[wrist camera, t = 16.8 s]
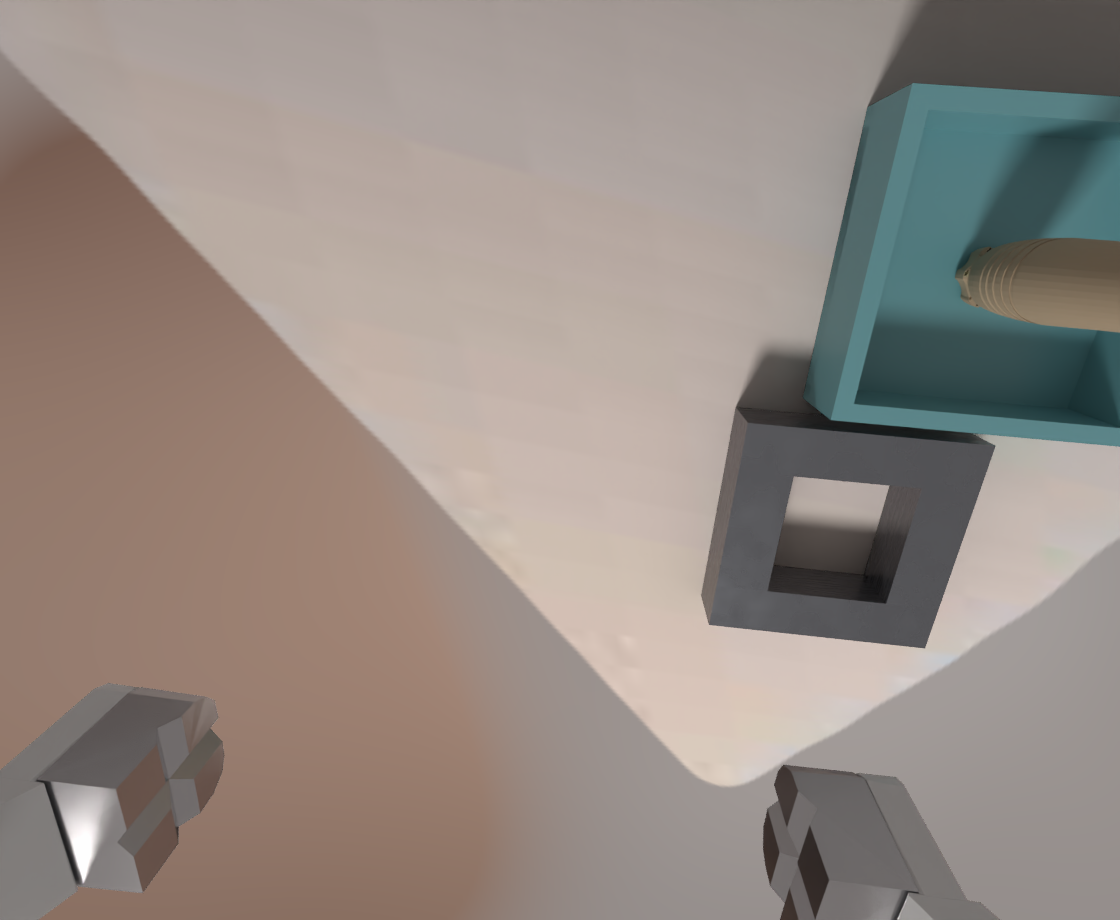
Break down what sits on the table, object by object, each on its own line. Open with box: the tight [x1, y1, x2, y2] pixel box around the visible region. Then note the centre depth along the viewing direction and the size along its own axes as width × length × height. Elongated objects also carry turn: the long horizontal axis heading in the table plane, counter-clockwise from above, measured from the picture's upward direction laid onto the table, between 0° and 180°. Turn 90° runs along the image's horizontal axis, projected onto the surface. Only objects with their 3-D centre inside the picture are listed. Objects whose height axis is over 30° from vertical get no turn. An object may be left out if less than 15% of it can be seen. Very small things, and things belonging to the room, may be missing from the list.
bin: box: [803, 83, 1120, 447], centre depth 32 cm, size 16×16×5 cm
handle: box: [955, 238, 1120, 333], centre depth 26 cm, size 5×6×15 cm
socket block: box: [701, 408, 995, 648], centre depth 38 cm, size 14×14×4 cm
